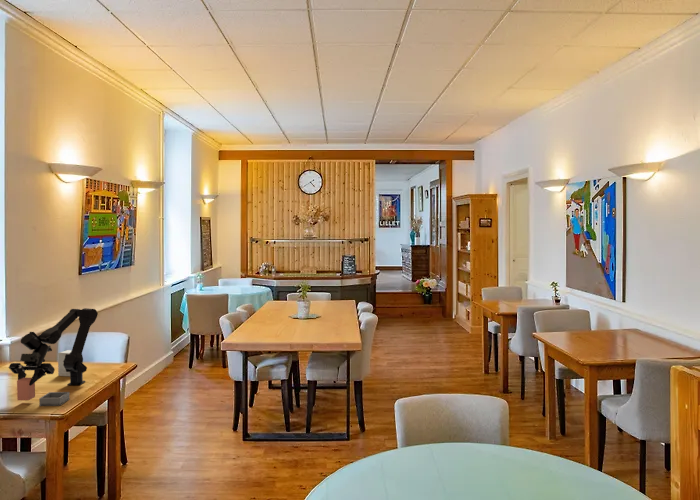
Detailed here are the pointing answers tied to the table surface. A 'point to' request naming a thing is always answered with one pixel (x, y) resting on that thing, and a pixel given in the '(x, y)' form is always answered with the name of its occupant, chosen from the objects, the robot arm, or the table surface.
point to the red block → (25, 389)
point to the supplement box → (60, 363)
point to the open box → (54, 399)
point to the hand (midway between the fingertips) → (24, 385)
